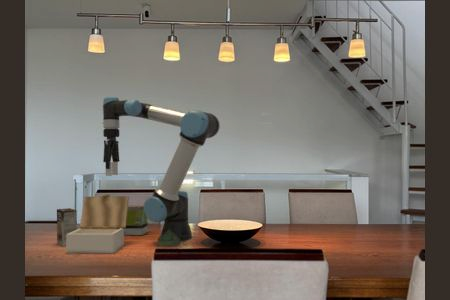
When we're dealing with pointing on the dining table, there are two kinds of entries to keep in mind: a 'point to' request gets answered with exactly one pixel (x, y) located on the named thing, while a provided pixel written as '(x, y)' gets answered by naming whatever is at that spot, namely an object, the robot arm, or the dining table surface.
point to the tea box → (136, 220)
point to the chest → (94, 241)
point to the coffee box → (65, 224)
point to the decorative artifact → (168, 239)
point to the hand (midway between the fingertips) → (111, 175)
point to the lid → (104, 212)
